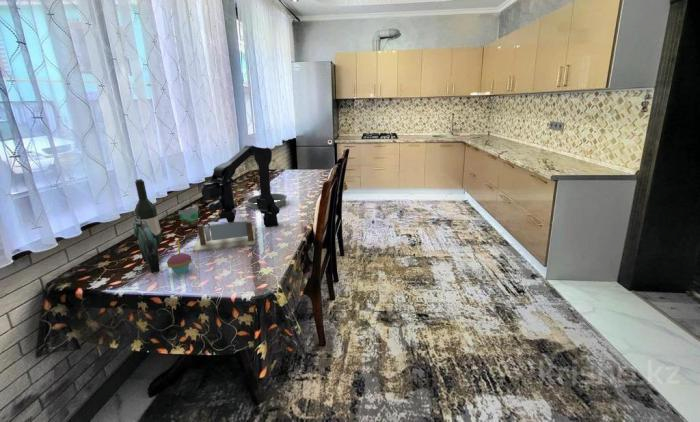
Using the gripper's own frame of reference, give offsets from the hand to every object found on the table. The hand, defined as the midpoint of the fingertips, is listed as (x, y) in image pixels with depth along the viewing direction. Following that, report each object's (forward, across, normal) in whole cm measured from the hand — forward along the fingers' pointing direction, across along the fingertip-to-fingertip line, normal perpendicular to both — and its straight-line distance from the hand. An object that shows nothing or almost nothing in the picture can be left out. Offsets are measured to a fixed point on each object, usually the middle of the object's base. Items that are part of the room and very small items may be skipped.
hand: (231, 227), depth 162 cm
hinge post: (+6, +3, -13) cm, 14 cm away
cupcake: (+6, +28, -17) cm, 33 cm away
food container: (+7, -31, -22) cm, 39 cm away
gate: (+4, +3, -2) cm, 5 cm away
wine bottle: (+7, -11, -37) cm, 39 cm away
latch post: (+6, +5, +8) cm, 12 cm away
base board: (+7, -3, -3) cm, 8 cm away
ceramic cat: (+6, +17, -30) cm, 35 cm away
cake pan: (+8, -58, +17) cm, 61 cm away
